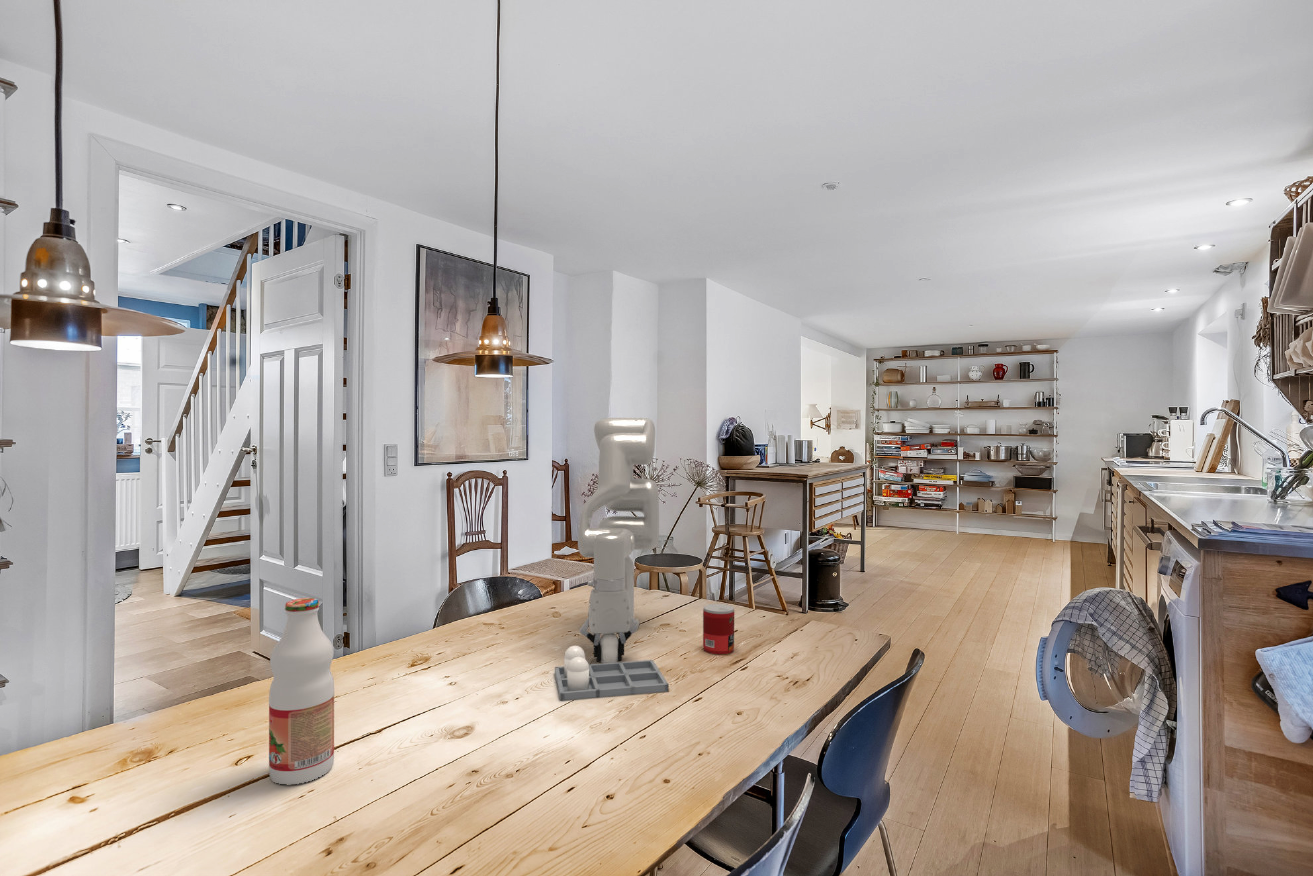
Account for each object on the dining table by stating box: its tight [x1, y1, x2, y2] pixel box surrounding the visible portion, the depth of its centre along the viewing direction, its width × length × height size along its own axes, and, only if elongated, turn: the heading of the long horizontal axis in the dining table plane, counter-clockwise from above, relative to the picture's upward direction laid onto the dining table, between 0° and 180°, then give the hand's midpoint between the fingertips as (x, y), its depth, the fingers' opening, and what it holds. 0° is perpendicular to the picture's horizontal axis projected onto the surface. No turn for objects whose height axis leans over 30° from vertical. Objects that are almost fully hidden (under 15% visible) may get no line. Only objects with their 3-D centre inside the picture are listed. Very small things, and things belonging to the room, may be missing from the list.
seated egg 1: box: [563, 645, 586, 678], centre depth 147 cm, size 5×5×7 cm
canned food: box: [702, 603, 735, 655], centre depth 168 cm, size 8×8×11 cm
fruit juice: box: [268, 597, 335, 786], centre depth 107 cm, size 9×9×28 cm
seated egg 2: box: [567, 657, 590, 691], centre depth 140 cm, size 5×5×7 cm
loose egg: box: [599, 633, 619, 664], centre depth 159 cm, size 5×5×7 cm
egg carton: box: [554, 659, 670, 702], centre depth 145 cm, size 16×23×2 cm
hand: (608, 658), depth 159 cm, fingers closed on loose egg, 4 cm apart
